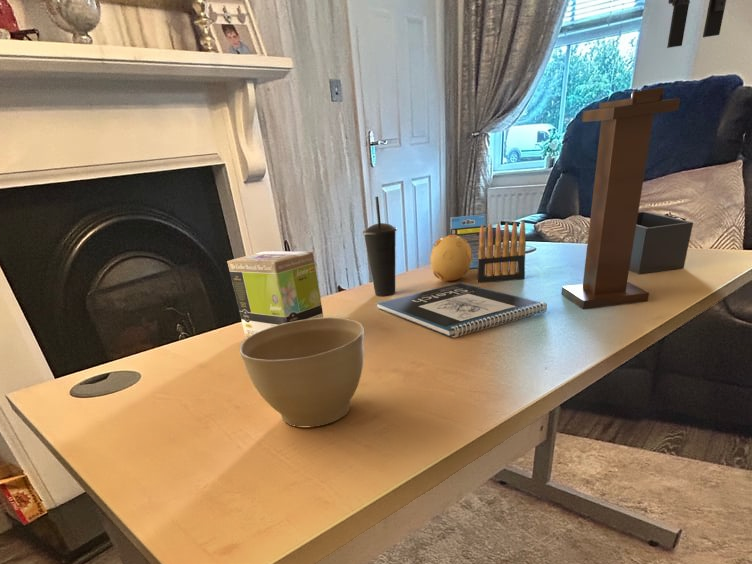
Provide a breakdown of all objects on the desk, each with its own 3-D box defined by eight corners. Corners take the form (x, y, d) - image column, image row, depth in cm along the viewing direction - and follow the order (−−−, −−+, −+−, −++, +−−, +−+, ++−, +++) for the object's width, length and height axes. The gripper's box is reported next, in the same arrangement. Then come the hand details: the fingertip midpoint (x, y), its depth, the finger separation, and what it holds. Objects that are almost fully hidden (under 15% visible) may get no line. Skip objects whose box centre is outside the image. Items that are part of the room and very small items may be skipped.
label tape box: (485, 264, 139) (486, 211, 132) (485, 268, 135) (486, 213, 128) (452, 267, 141) (450, 215, 133) (451, 270, 137) (449, 217, 130)
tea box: (327, 330, 106) (314, 250, 98) (290, 346, 101) (273, 262, 92) (280, 322, 115) (264, 248, 107) (243, 336, 110) (224, 259, 101)
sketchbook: (460, 288, 122) (460, 279, 121) (549, 313, 99) (550, 302, 98) (377, 308, 116) (376, 298, 114) (452, 340, 93) (452, 328, 91)
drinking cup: (397, 287, 129) (390, 193, 118) (404, 294, 123) (397, 195, 111) (367, 292, 129) (356, 198, 117) (372, 299, 122) (362, 200, 111)
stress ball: (425, 280, 132) (423, 235, 126) (462, 273, 133) (462, 229, 128) (439, 287, 124) (438, 240, 118) (478, 280, 125) (478, 233, 120)
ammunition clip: (524, 277, 123) (527, 219, 116) (524, 279, 122) (527, 220, 115) (477, 280, 125) (477, 224, 119) (477, 282, 124) (477, 225, 117)
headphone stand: (560, 293, 108) (578, 100, 90) (619, 286, 108) (648, 90, 90) (583, 310, 98) (609, 95, 80) (649, 301, 97) (689, 83, 79)
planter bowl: (274, 394, 81) (257, 323, 75) (377, 387, 79) (369, 312, 73) (244, 444, 69) (221, 363, 62) (366, 437, 66) (355, 352, 60)
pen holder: (599, 256, 131) (604, 216, 126) (638, 251, 131) (644, 211, 126) (638, 274, 114) (646, 228, 109) (683, 268, 113) (693, 222, 108)
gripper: (664, -88, 104) (644, 53, 116) (741, -145, 83) (707, 34, 96) (702, -94, 103) (678, 48, 116) (790, -152, 83) (749, 28, 95)
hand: (691, 42), depth 106 cm, fingers open, 13 cm apart
